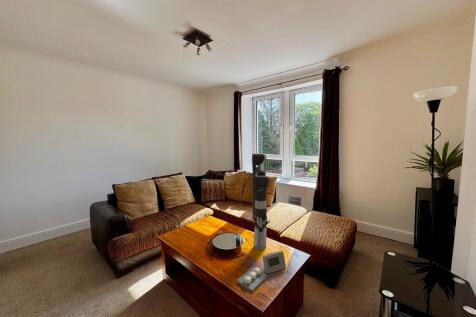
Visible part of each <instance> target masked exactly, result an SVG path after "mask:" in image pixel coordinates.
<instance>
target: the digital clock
mask: <svg viewBox="0 0 476 317" xmlns="http://www.w3.org/2000/svg"><path fill="white" fill-rule="evenodd" d="M284 254H285V253H284V251H283V250H279V251H274V252H270V253H267V254H265V255H264V254H263V256H262V261H263V268H264V273H265V274H267V275H268V274H270V273H274V272H277V271H281V270H282V269H285V268H286V267H287V264H286V260H285V259H286V258H285V255H284Z"/></svg>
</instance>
